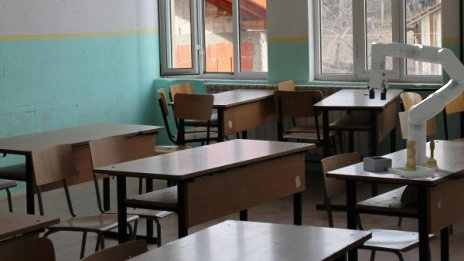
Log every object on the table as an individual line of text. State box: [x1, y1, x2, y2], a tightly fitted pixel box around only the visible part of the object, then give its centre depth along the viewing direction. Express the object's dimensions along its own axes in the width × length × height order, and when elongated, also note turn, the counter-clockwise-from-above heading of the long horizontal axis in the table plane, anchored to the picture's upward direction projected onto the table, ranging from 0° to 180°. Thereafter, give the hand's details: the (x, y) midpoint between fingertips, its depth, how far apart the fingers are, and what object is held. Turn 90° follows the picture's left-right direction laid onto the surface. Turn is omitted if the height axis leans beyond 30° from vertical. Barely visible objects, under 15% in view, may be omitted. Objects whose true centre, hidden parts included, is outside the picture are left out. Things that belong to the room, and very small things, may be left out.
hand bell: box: [425, 138, 441, 173], centre depth 434 cm, size 8×8×16 cm
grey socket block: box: [362, 156, 393, 173], centre depth 431 cm, size 10×10×7 cm
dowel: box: [406, 140, 417, 171], centre depth 422 cm, size 4×4×16 cm
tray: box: [387, 165, 436, 179], centre depth 423 cm, size 17×14×3 cm
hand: (377, 99), depth 453 cm, fingers open, 9 cm apart
